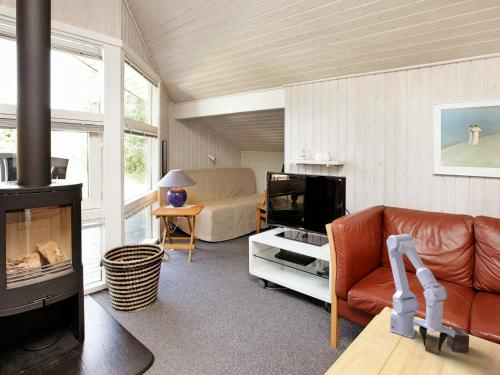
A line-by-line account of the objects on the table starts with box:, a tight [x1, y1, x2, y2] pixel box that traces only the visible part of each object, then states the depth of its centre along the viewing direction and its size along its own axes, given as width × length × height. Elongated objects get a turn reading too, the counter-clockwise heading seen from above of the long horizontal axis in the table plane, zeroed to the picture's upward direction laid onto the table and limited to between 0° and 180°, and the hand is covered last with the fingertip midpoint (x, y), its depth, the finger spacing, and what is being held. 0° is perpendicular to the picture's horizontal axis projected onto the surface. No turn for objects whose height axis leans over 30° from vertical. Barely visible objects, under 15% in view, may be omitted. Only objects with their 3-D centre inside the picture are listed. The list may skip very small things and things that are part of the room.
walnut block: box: [424, 333, 440, 356], centre depth 128 cm, size 4×4×5 cm
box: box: [446, 326, 470, 354], centre depth 129 cm, size 6×6×7 cm
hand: (432, 346), depth 128 cm, fingers closed on walnut block, 4 cm apart
